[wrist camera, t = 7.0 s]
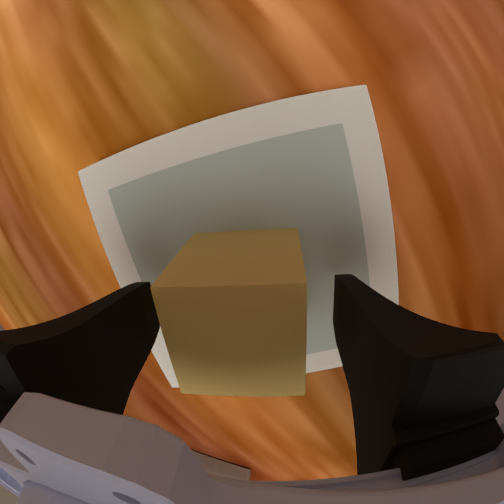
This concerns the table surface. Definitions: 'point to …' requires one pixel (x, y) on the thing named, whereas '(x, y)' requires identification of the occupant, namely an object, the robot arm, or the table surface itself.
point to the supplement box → (223, 468)
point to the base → (257, 198)
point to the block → (236, 313)
